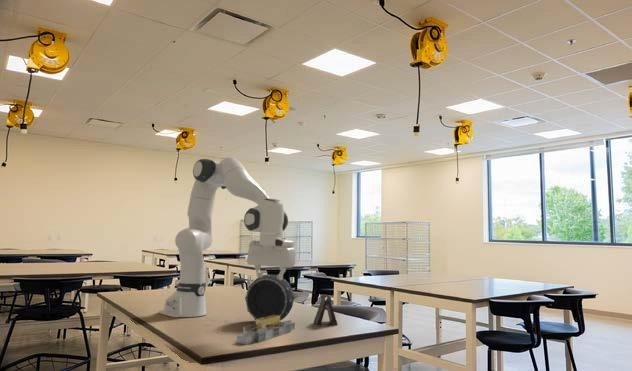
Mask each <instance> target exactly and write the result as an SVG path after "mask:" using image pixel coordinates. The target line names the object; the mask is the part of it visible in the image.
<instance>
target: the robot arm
mask: <svg viewBox="0 0 632 371" xmlns="http://www.w3.org/2000/svg"><path fill="white" fill-rule="evenodd" d="M192 174H193V177H194V179H195V180H194V183H193V186H192V188H191V193H190V195H189V196H190V197H189V201H188V202H189V203H188V206H187V207H188V208H187V217H188V228H187V227H186V228H184V229H182V230H180V231H179V232H178V233H177V234H176V235H175V239H174V241H175V247H177V249H178V255H179V262H180V269H179V270H180V272H179V274H180V275H179V282H178V283H175V285H174V287H176V291H175V292H173V293H172V294H171V295H170V296H168V297H167V298H166V299H165V301H164V308H163V309H160V310H158V314H162V315H165V316H169V317H171V318H193V317H202V316H206V315H207V314H208V313H207V312H208V311H207V308H206V306H207V305H206V294H205V292H206V288H207V286H206V285H207V284H206V282H205V281H206V267H207V266H206V263H205V260H204V255H203V252H204V251H206V250H207V249H209V248H210V247H211V245H212V244H213V235H212V218H213V211H214V207H215V206H214V204H215V199H216V198H215V197H216V193H217V190H218V189H219V188H221V189H222V190H225V189H226V190H227V191H228V193H230V194H231V195H233V196H235V197H238V198H242V199H246V200H249V201H251V202H253V203H255V204H256V206H254V207H250V208H248V210H247V211H246V212H245V214H244V216H243V217H244V219H243V222H244V226H245V227H246V229H247V231H250V232H255V233H259V240H252V241H250V243H249V245H248V251H247V257H246V262H247V264H248V265H252V266H254V270H255V273H256V278H261V277H263V276H264V272H262V271H261V268H262V267H264V266H265V267H277V268H279V273H278V274H276V275H277V279H279V280H282V279H284V274H285V273H286V271H287V268H288V269H289V268H293V267H295V264H296V251H295V249H294V247H295V241H294V240H292V239H289V238H288V237H285V236H284V231H285V230H286V229H287V227H288V224H289V218H288V214H287V213H286V211H285V210H284V204H283V201H281V200H279V199H276V198H272V197H271V196H270V195H269V193H268V192H267V191H266V190H265V188H264V187H262V186H261V185H260V184H259V183H257V182H256V180H254V178H253V177H252V176H251V175H250V174H249V172H248V171H247V169H246V168H245V166H244V165H243V164H242V163H241V162H240V160H239V159H237V158H236V157H233V156H227V157H225V158H223V159H222V160H221V161H218V160H212V159H208V158H201V159H198V160H197V161H196V162H195V163H194V165H193V169H192Z"/></svg>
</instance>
